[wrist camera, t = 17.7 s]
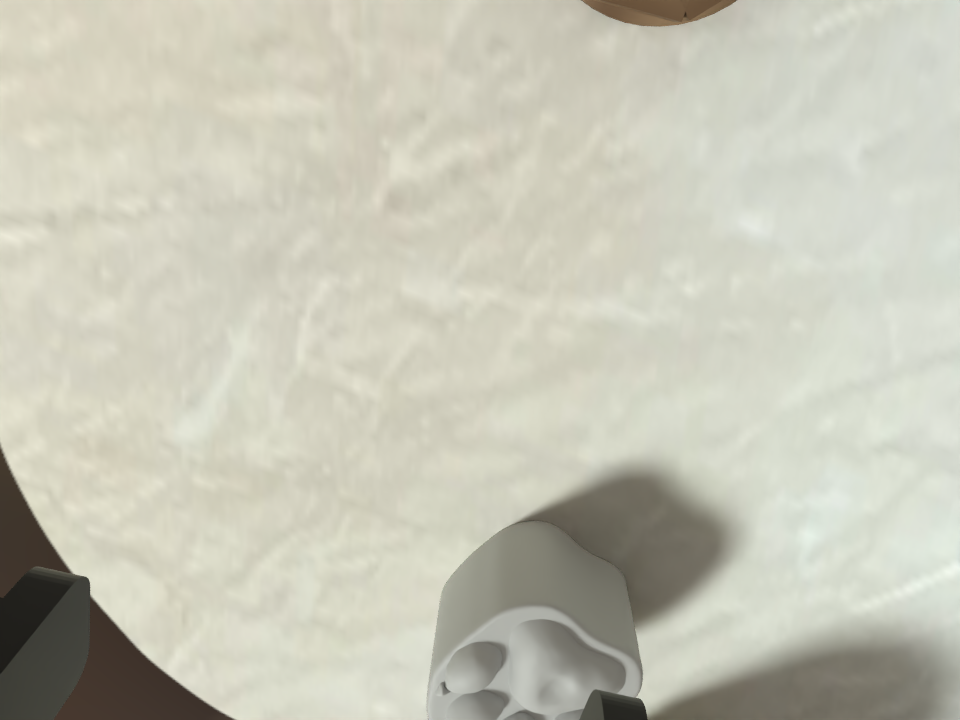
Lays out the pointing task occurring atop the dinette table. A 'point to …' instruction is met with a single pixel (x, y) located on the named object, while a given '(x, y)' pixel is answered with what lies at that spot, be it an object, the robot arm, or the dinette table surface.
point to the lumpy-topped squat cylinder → (531, 631)
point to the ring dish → (658, 10)
